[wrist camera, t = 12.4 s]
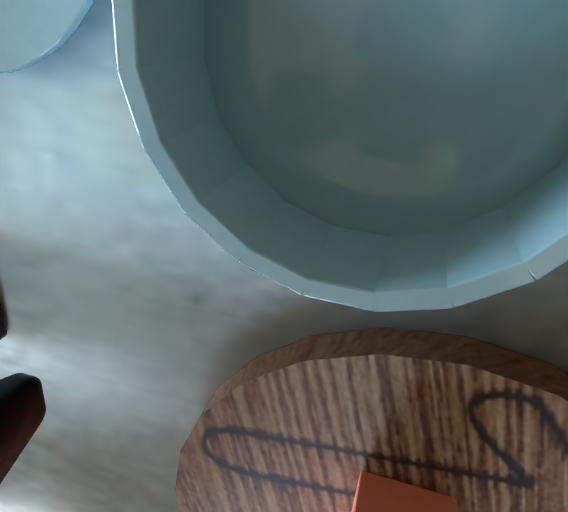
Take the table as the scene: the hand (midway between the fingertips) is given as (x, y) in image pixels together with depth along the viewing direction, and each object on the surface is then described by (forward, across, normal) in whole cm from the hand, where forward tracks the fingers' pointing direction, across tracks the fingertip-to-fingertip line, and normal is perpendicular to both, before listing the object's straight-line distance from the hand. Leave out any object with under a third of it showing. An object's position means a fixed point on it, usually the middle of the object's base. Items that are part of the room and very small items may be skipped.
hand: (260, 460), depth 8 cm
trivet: (+12, -6, +17) cm, 21 cm away
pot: (+12, 0, -6) cm, 14 cm away
